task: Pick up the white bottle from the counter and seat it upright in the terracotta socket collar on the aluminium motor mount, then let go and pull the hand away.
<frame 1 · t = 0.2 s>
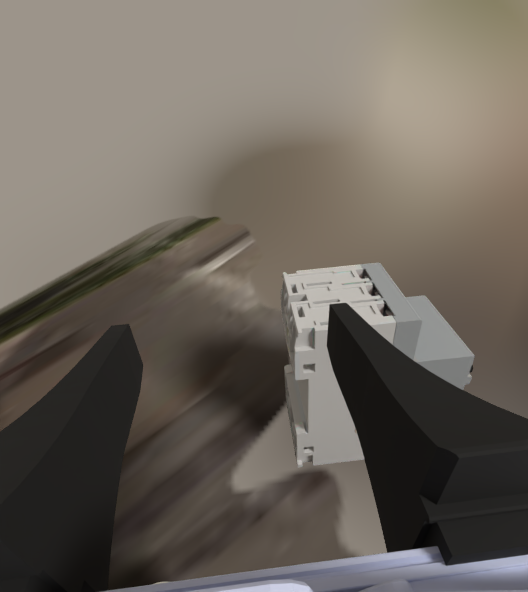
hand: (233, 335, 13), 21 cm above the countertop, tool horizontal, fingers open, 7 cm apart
circuit breaker: (365, 422, 34), on the countertop
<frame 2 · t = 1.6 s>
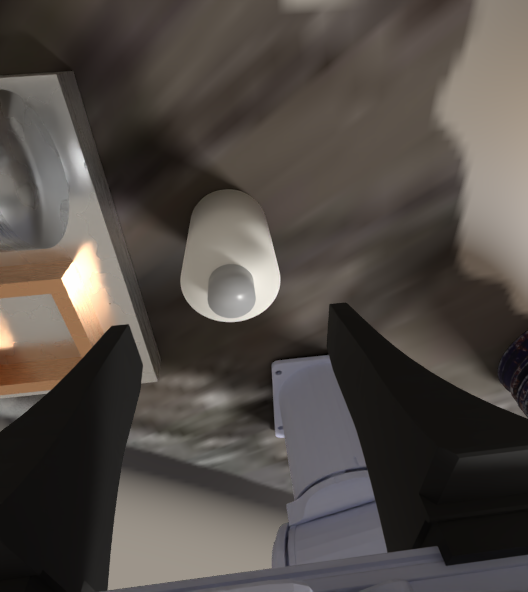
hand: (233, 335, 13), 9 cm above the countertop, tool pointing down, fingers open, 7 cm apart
white bottle: (228, 226, 21), on the countertop
motor: (23, 261, 21), on the countertop
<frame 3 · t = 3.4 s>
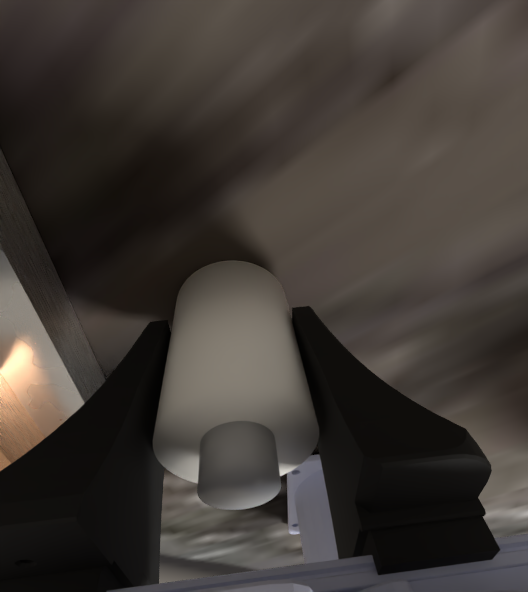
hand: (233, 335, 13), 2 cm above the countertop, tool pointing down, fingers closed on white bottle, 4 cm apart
white bottle: (232, 308, 14), on the countertop, touching gripper
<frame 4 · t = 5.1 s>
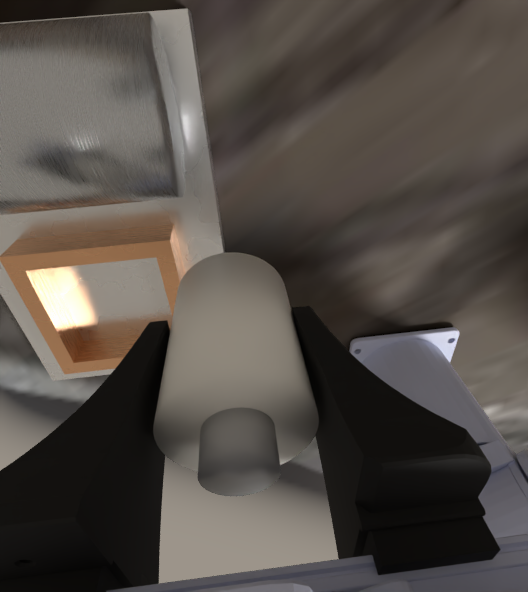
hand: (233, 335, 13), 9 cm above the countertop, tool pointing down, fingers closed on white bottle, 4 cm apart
white bottle: (232, 300, 15), point 7 cm above the countertop, touching gripper
motor: (111, 229, 20), on the countertop
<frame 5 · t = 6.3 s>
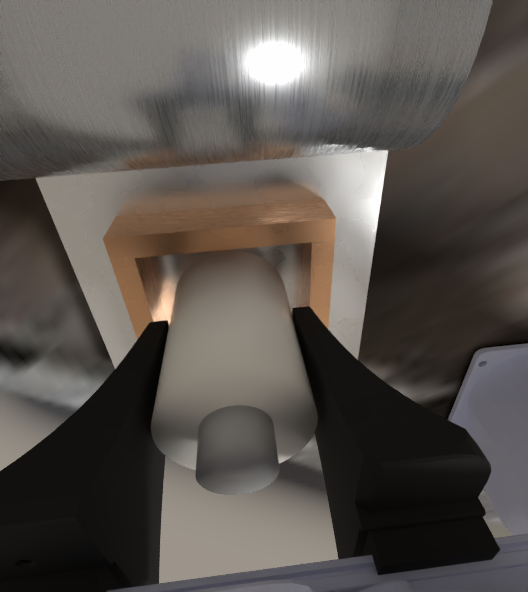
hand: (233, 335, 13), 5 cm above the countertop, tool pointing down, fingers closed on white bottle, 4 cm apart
white bottle: (231, 298, 14), point 3 cm above the countertop, touching gripper
motor: (223, 207, 15), on the countertop
when the fingers open (5 cm above the countertop, at t = 7.2 s): white bottle stays where it is, resting on motor.
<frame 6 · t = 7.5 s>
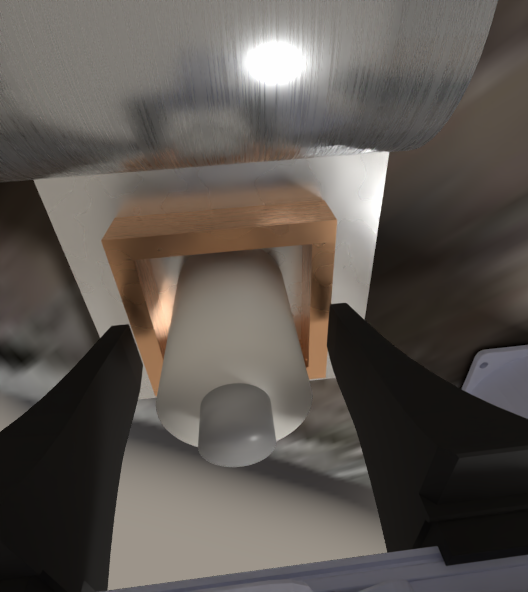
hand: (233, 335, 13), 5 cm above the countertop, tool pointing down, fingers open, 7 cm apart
white bottle: (231, 288, 15), point 2 cm above the countertop, touching motor
motor: (223, 208, 15), on the countertop
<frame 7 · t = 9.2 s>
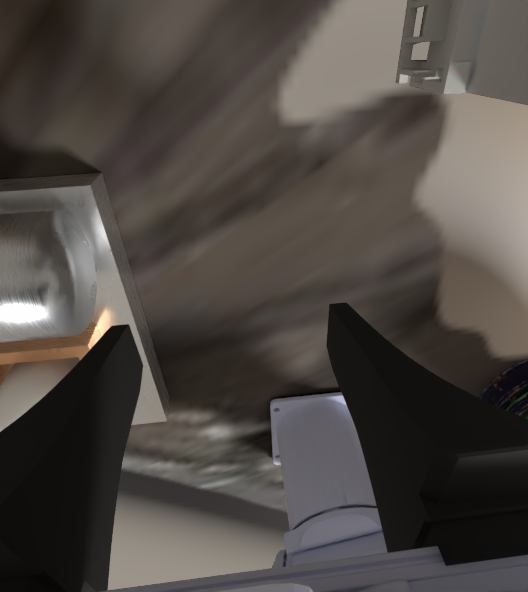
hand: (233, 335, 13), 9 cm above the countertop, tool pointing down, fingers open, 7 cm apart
white bottle: (54, 371, 23), point 2 cm above the countertop, touching motor
motor: (49, 319, 23), on the countertop
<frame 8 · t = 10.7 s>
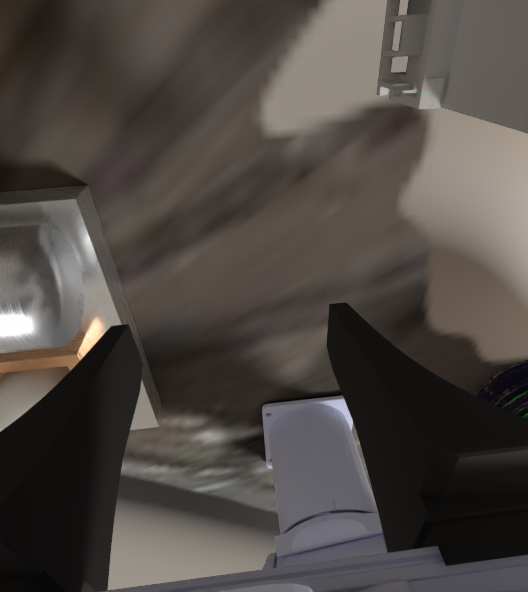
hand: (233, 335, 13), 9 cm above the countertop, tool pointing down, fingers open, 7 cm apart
white bottle: (45, 379, 24), point 2 cm above the countertop, touching motor
motor: (40, 328, 24), on the countertop
storage jar: (520, 391, 33), on the countertop
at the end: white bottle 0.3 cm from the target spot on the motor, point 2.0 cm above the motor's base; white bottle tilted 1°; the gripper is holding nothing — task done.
